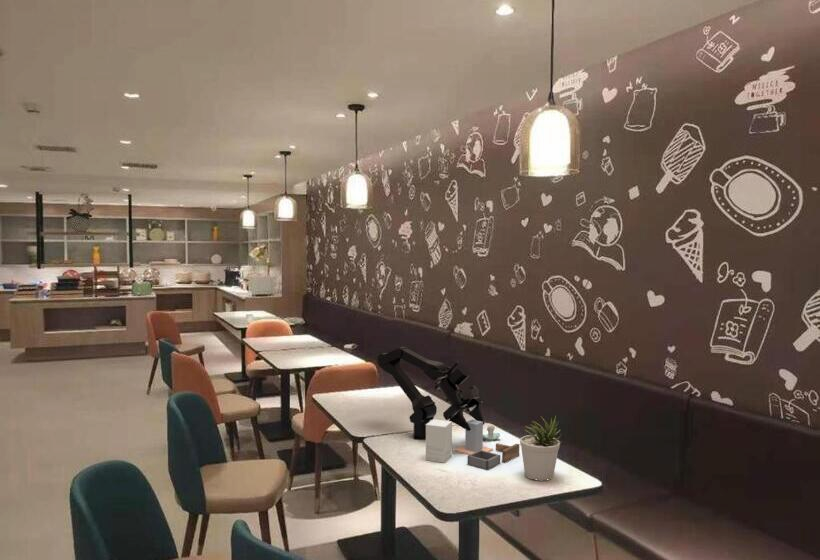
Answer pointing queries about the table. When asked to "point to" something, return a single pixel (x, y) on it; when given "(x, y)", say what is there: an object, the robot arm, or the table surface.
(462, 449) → the pad
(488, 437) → the pacifier
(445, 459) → the supplement box
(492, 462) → the dark grey open box
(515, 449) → the walnut bracket
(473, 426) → the slate block
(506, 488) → the table surface
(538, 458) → the potted plant
